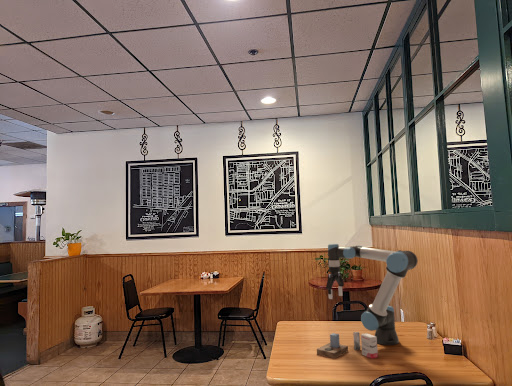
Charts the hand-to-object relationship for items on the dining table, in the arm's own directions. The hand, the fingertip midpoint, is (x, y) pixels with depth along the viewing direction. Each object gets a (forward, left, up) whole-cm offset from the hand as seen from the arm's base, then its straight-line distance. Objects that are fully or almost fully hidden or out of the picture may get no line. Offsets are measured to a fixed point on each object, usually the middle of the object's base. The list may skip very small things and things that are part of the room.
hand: (335, 297), depth 255 cm
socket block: (-13, +29, -27) cm, 42 cm away
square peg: (-13, +26, -27) cm, 39 cm away
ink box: (-33, +21, -27) cm, 47 cm away
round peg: (-22, +15, -27) cm, 38 cm away
